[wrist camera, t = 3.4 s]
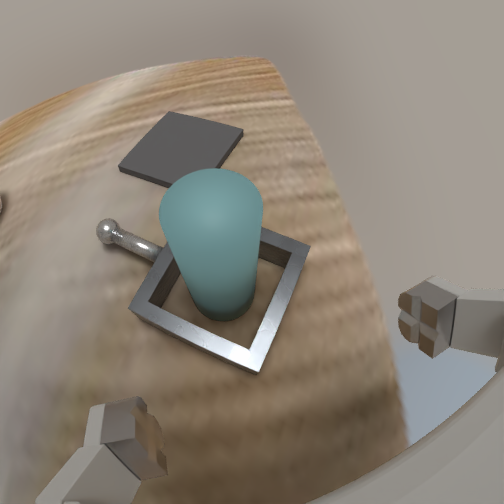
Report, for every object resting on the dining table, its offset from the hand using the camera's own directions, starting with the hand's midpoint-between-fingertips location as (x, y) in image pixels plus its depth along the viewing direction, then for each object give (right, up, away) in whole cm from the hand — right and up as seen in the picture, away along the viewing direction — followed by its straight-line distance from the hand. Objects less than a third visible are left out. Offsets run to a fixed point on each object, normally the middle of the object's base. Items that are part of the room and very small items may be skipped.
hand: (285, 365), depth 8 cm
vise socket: (-6, +2, +14) cm, 15 cm away
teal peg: (-3, 0, +13) cm, 14 cm away
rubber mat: (-8, +13, +20) cm, 25 cm away
